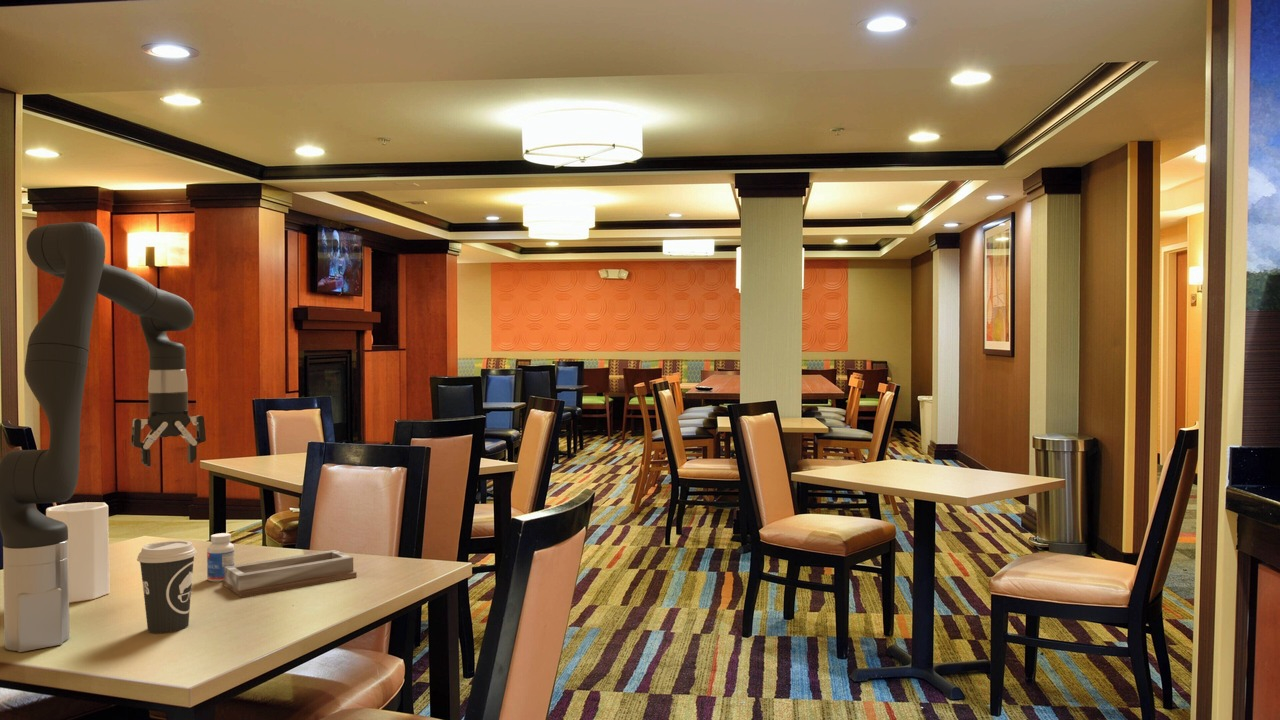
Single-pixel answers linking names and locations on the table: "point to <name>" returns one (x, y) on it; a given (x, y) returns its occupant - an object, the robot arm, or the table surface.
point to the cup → (86, 548)
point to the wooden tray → (288, 573)
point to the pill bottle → (219, 556)
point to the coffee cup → (167, 584)
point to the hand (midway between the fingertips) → (169, 464)
